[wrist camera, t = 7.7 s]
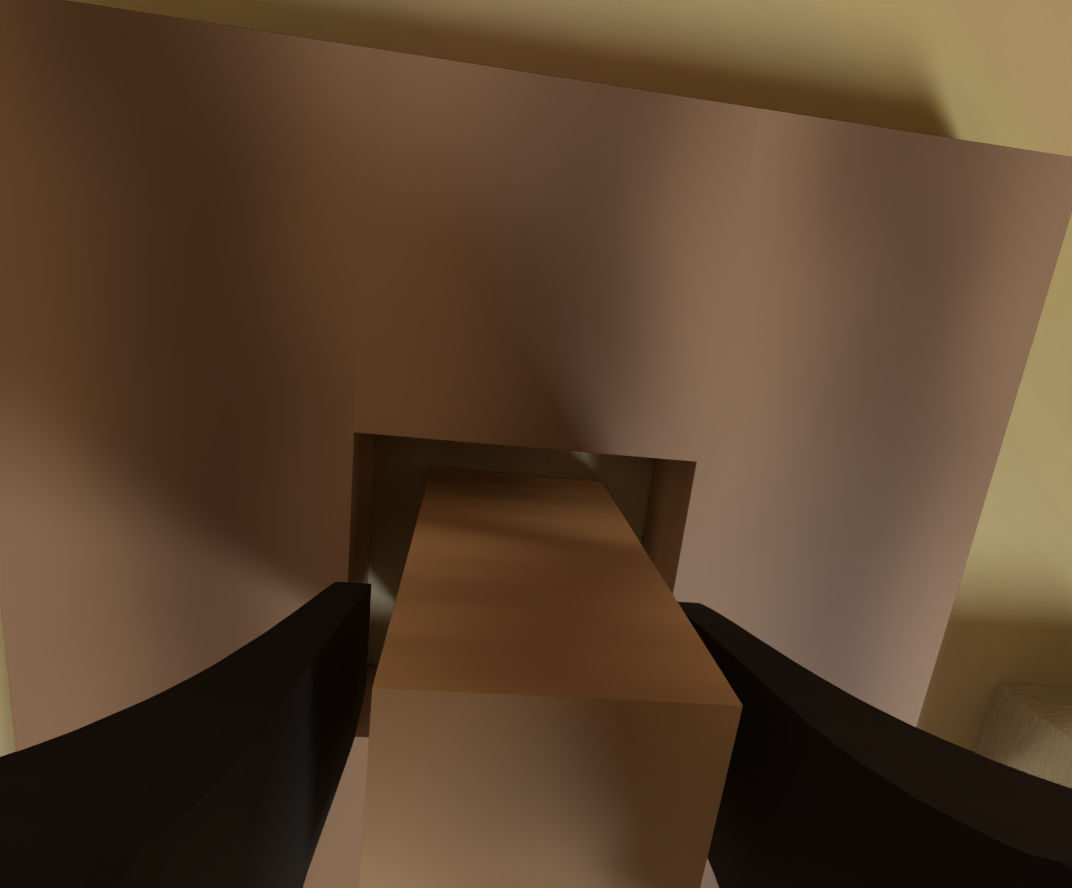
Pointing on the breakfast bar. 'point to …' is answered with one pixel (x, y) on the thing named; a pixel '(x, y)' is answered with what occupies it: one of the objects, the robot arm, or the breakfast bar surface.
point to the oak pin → (540, 701)
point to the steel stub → (1030, 730)
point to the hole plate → (476, 344)
